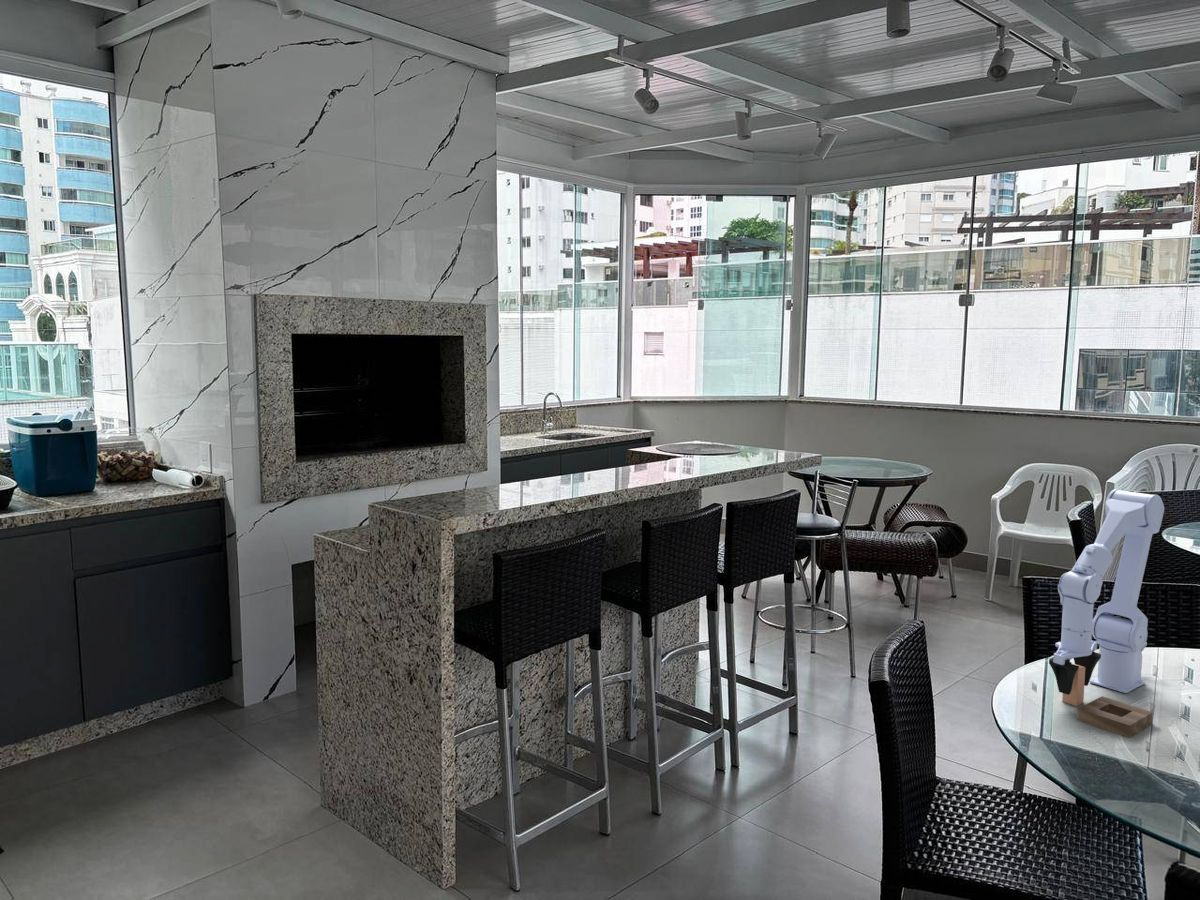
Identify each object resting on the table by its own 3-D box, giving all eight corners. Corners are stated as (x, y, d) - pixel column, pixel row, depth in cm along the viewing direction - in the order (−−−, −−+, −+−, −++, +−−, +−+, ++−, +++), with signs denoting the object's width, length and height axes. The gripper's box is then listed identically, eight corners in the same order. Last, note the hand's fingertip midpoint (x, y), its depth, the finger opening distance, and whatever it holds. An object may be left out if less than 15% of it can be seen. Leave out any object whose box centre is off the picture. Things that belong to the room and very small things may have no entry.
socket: (1101, 707, 187) (1102, 696, 186) (1152, 723, 178) (1153, 712, 178) (1077, 719, 181) (1078, 708, 181) (1129, 737, 173) (1129, 725, 172)
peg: (1069, 698, 192) (1071, 663, 191) (1083, 702, 189) (1085, 667, 188) (1062, 701, 190) (1064, 666, 189) (1076, 706, 187) (1078, 670, 186)
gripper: (1075, 616, 195) (1071, 674, 196) (1040, 629, 186) (1037, 690, 188) (1108, 624, 189) (1104, 684, 191) (1074, 639, 181) (1070, 701, 183)
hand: (1073, 688), depth 189 cm, fingers open, 7 cm apart
